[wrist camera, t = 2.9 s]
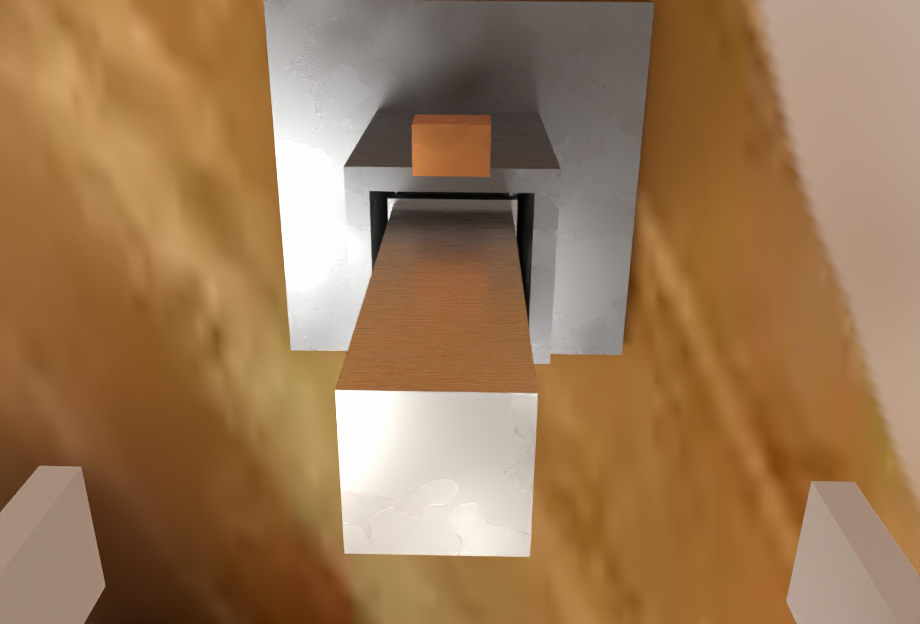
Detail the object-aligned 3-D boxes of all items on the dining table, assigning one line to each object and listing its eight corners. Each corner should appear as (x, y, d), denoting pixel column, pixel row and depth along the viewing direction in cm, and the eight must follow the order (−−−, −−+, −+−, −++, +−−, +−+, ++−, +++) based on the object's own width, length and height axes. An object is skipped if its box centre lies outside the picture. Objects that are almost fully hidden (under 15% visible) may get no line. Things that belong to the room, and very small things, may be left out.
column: (406, 241, 39) (331, 564, 18) (404, 140, 37) (319, 376, 17) (507, 242, 39) (543, 568, 18) (510, 141, 37) (553, 380, 17)
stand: (294, 341, 42) (230, 483, 31) (269, -3, 36) (175, 21, 25) (618, 345, 42) (670, 490, 31) (649, 1, 36) (729, 26, 24)
